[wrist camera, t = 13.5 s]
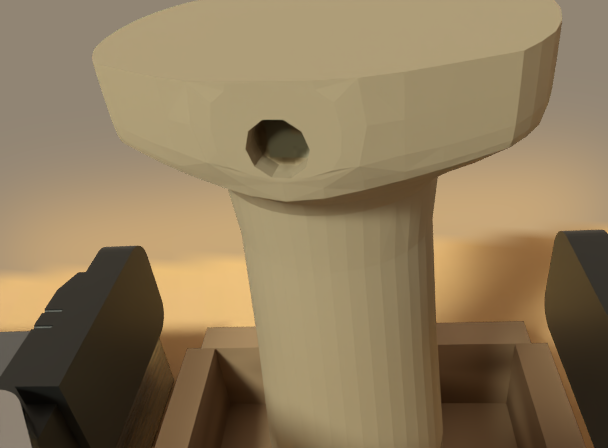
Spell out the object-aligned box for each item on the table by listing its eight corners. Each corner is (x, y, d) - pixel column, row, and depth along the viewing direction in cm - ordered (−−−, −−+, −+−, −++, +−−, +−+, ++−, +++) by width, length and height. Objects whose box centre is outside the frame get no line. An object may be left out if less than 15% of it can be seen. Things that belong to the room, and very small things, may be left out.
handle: (283, 459, 19) (182, -7, 11) (482, 493, 17) (543, -31, 9) (234, 618, 15) (21, 85, 7) (483, 680, 14) (590, 74, 5)
